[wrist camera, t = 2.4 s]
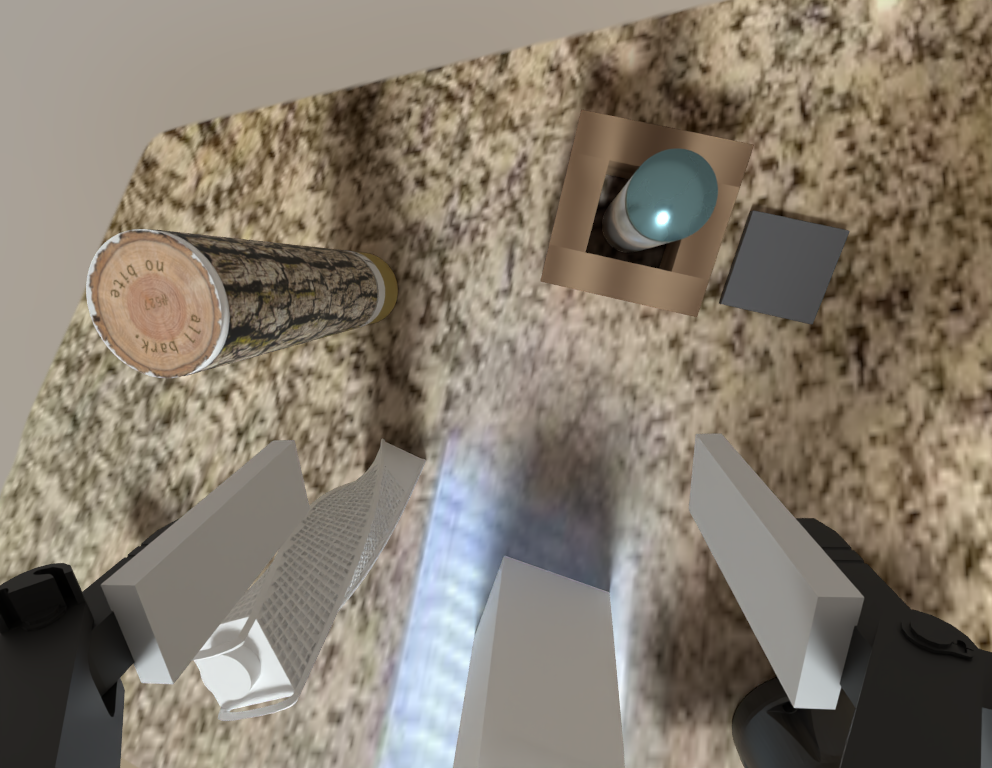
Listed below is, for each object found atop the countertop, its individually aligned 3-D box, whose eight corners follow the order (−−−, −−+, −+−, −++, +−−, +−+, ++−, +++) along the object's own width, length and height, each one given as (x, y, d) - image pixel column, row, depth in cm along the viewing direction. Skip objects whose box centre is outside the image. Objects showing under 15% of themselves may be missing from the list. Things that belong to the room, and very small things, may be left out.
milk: (474, 637, 53) (402, 960, 28) (503, 555, 50) (453, 835, 25) (573, 673, 53) (590, 1035, 28) (609, 592, 50) (665, 916, 25)
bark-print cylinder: (408, 315, 45) (242, 363, 21) (345, 329, 47) (119, 390, 22) (389, 245, 44) (190, 211, 20) (325, 261, 45) (62, 248, 21)
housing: (729, 160, 39) (754, 144, 34) (680, 312, 42) (696, 317, 37) (578, 129, 40) (581, 109, 35) (541, 280, 43) (540, 281, 38)
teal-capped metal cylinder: (667, 200, 40) (730, 158, 26) (650, 258, 41) (701, 249, 27) (610, 188, 41) (641, 140, 26) (595, 246, 42) (616, 231, 27)
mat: (845, 231, 39) (849, 230, 39) (808, 323, 41) (812, 324, 41) (750, 211, 40) (753, 210, 39) (718, 303, 42) (721, 303, 41)
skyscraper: (376, 422, 48) (153, 609, 21) (441, 452, 48) (298, 678, 21) (352, 484, 51) (120, 726, 24) (414, 513, 50) (252, 789, 23)
